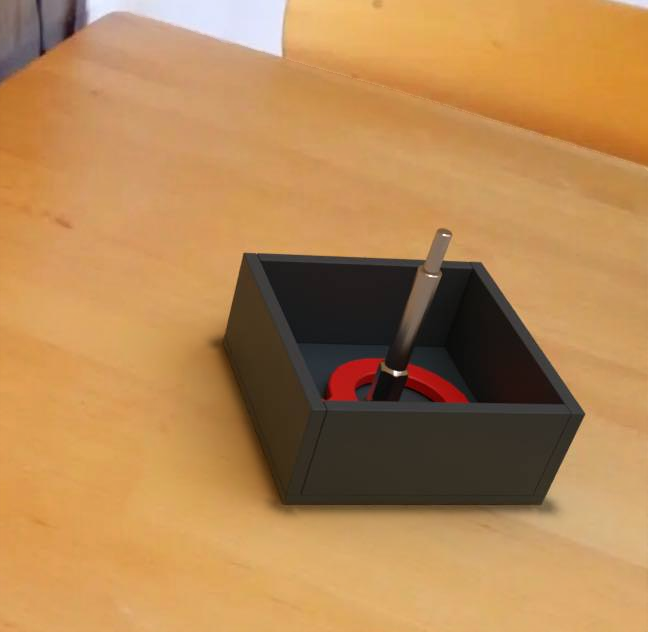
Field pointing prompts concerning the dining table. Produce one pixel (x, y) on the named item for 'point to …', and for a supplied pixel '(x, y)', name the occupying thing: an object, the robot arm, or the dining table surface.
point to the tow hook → (401, 347)
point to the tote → (413, 407)
